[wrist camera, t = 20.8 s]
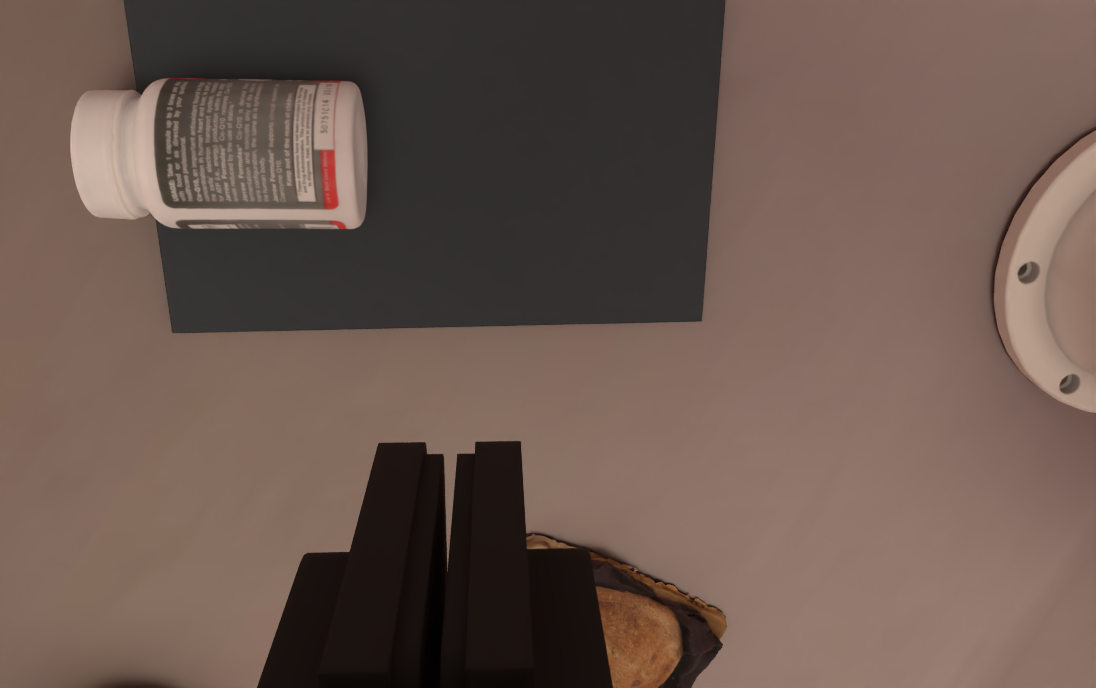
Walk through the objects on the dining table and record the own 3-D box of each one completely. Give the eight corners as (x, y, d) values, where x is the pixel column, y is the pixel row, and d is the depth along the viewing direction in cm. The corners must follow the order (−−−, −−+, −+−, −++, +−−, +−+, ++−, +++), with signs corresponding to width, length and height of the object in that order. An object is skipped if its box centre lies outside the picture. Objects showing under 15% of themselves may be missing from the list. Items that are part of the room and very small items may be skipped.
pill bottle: (358, 49, 29) (82, 41, 28) (350, 165, 27) (49, 161, 26) (371, 149, 33) (130, 144, 32) (364, 257, 31) (106, 256, 30)
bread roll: (441, 661, 41) (438, 722, 37) (535, 516, 39) (542, 567, 35) (639, 742, 44) (654, 806, 40) (738, 610, 41) (763, 666, 38)
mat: (732, -138, 30) (736, -140, 30) (699, 318, 36) (702, 321, 36) (105, -153, 29) (100, -155, 28) (175, 330, 34) (172, 333, 34)
